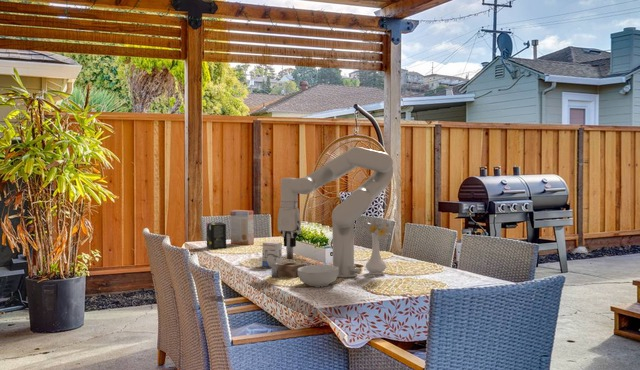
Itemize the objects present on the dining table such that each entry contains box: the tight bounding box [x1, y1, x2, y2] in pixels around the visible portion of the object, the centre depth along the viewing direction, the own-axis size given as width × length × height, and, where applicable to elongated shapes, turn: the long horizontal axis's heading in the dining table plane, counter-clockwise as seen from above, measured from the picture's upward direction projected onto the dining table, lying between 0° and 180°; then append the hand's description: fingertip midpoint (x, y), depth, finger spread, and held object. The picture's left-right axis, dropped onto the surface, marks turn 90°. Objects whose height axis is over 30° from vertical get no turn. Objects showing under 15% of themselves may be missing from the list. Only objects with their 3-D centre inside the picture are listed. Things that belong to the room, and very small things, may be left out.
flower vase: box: [360, 217, 393, 276], centre depth 267 cm, size 13×18×25 cm
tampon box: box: [206, 221, 227, 250], centre depth 352 cm, size 11×9×15 cm
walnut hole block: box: [278, 261, 305, 278], centre depth 266 cm, size 10×8×5 cm
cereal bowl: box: [297, 264, 339, 288], centre depth 244 cm, size 17×17×7 cm
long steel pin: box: [285, 231, 294, 260], centre depth 266 cm, size 3×3×14 cm
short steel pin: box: [270, 263, 279, 278], centre depth 262 cm, size 3×3×6 cm
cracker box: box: [229, 209, 255, 246], centre depth 367 cm, size 14×6×21 cm, turn 58°
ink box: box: [261, 240, 283, 268], centre depth 290 cm, size 9×5×12 cm, turn 62°
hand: (289, 246), depth 266 cm, fingers closed on long steel pin, 3 cm apart
